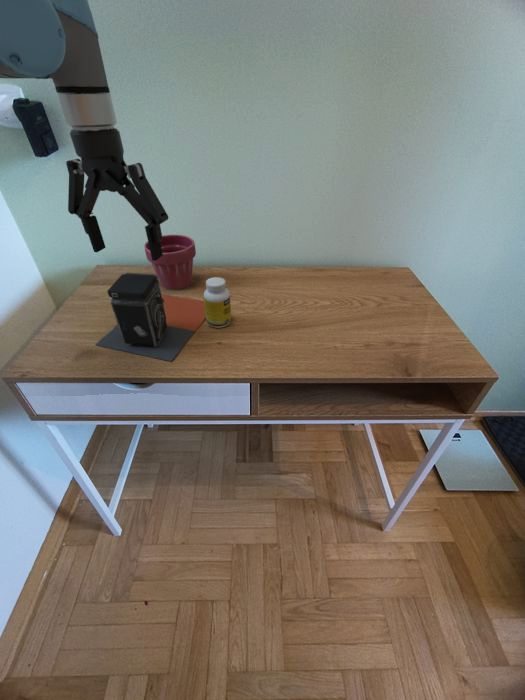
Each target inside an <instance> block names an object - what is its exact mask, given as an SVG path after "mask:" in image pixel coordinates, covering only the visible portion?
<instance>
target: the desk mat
mask: <svg viewBox="0 0 525 700" xmlns="http://www.w3.org/2000/svg"><path fill="white" fill-rule="evenodd" d="M161 295H162V298H163V299H164V303H163V305H164V310H165V314H166V324H167V328H168V329H167V330H166V332H165V334H164V336H163V338H162V339H161V341H160V343H159V345H158V346H155V347H154V346H153V345H140V344H132V345H130V344H125V343H124V342H123V339H122V336H121V333H120V330H119V327H118V324H117V325H116V326H115V327H113V329H111V330H110V331H109V332H108V333H107V334H106V335H104V336H103V337H102V338H101V339H100V340H99V341H98V342H96V344H95V346H96V347H101V348H106V349H109V350H114V351H118V352H124V353H128V354H131V355H132V354H133V355H136V356H143V357H147V358H151V359H156V360H160V361H165V362H169V363H172V362H173V361H174V360H175V359H176V358H177V356H178V355H179V353H180V352H181V351H182V349H183V348H184V347H185V346H186V345H187V343H188V342H189V340H190V339H191V338H192V337H193V336H194V335H195V333H196V331H197V330H198V329H199V328H200V327H201V326H202V324H203V323H204V322H205V320H206V312H205V304H204V300H199V299H194V298H193V299H192V298H187V297H183V296H182V297H181V296H175V295H169V294H165V293H161Z"/></svg>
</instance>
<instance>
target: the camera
mask: <svg viewBox="0 0 525 700" xmlns="http://www.w3.org/2000/svg"><path fill="white" fill-rule="evenodd" d="M160 283H161V282H160V280H159V278H158V276H157V274H156V273H139V272H125V273H122V274H121V275H119V277H118V278H117V279H116V280H115V282H113V284H112V285H111V286H110V287H109V288H108V289H107V291H106V292H107V295H108V297H109V298H111V299H110V301H109V302H110V305H111V309H112V312H113V314H114V318H115V319H116V320H115V321H116V323H117V325H118V327H119V330H120V333H121V336H122V339H123V342H124V343H125V344H130V345H132V344H140V345H153V346H154V347H155V346H158V345H159V343H160V341H161V339H162V338H163V336H164V334H165V332H166V330H167V329H168V328H167V324H166V314H165V310H164V305H163V303H164V299H163V298H162V295H161V294H162V290H161V288H160Z"/></svg>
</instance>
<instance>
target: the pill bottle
mask: <svg viewBox="0 0 525 700" xmlns="http://www.w3.org/2000/svg"><path fill="white" fill-rule="evenodd" d="M205 286H206V287H205V288H206V289H205V290H204V293H203V301H204V304H205V312H206V319H205V320H206V323H207V324H208V326H209V327H212V328H215V329H216V328H217V329H220V328H221V329H222V328H225V327H227V326H228V325H230V324H231V322H232V311H231V308H232V307H231V293H230V290H229V289H228V288H226V286H227V285H226V279H224V278H223V277H218V276H214V277H209V278H208V279H206V281H205Z"/></svg>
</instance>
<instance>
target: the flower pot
mask: <svg viewBox="0 0 525 700" xmlns="http://www.w3.org/2000/svg"><path fill="white" fill-rule="evenodd" d="M162 237H163V239H162V241H161V242H160V244H161V249H162V254H163V256H161V257H160V258H159V259H157V260H156V261H154V260H152V256H151V252H150V247H149V243H148V240H147V241H146V242H145V244H144V246H143V248H144V252H145V256H146V259H147V261H148V262H149V263H151V265H152V267H153V269H154V272H155V275H157V276H158V279H159V280H160V282H159V283H160V284H161V286H162V288H164V289H167V290H173V291H174V290H175V291H176V290H181V289H185V288H187V287H189V286H190V285H191V283H192V277H193V267H194V258H195V257H196V255H197V251H196V243H195V240H194V239H193V238H191V237H190V236H187V235H183V234H165V235H162Z"/></svg>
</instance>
